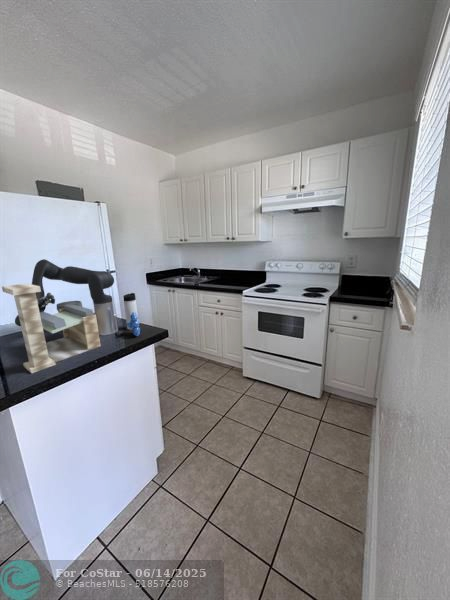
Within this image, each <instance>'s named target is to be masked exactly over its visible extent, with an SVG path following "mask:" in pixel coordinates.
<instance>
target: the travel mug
mask: <svg viewBox="0 0 450 600" xmlns="http://www.w3.org/2000/svg"><path fill="white" fill-rule="evenodd" d="M122 297H123V305H124V314H125V320H126V324H127V323H128V322H130V320H131V318H130V316H131V314H132V313H133V312H134V313H136V314H137V317H138V315H139V314H138V306H137V298H136V293H135V292H131V293H127V294H124V295H123V296H122ZM137 321H138V322H139V317H138V319H137ZM138 327H139V328H140V325H139V326H138ZM126 330H128V331H133V330H132V329H131V328H128V327H127V326H126Z"/></svg>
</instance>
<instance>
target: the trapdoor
mask: <svg viewBox="0 0 450 600" xmlns="http://www.w3.org/2000/svg"><path fill="white" fill-rule="evenodd" d="M63 306H64V309H65V311H63V312H60V313H55V314H53V315H54V316H57V317H59V318H62V319H64V320H65V323H66V326H64V327H62V328H59V329H54V328H51V327H49V326H47V325H45V324H42V327H43V330H45V331H47V332H48V333H50V334H55V333H59V332H61V331H63V330H64V329H66V328H69V327H72V326H74V325H77V324H80V323H82V322H83V319H82V317H87V316H91V315H95V313H94V311H93V309H90V308H87V307H84V306H82V307H81V306H77V305H74V304H70V303H69V304H66V305H63Z"/></svg>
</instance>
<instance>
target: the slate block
mask: <svg viewBox="0 0 450 600" xmlns="http://www.w3.org/2000/svg"><path fill="white" fill-rule="evenodd" d="M40 317H41V322H42V324H45V325H47V326H49V327H51V328H54V329H59V328H62V327H64V326H66V323H65V320H64V319H62V318H59V317H57V316H54V314H51V313H48V312H45V311H44V312H43V311H42V312H40Z"/></svg>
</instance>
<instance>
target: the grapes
mask: <svg viewBox="0 0 450 600" xmlns="http://www.w3.org/2000/svg"><path fill="white" fill-rule="evenodd" d="M137 314H138V313H137ZM137 314H136V313H134V312H133V313H132V314H131V316H130V318H131V320H130V322H128V323H127V322H126V328H127V327H128V328H131V329H132V330H131V331H132V334H133V335H134V336H135V337H139V335H140V334H141V328H140V324H141V323H140V322H139V317H137ZM137 319H138V321H137ZM138 326H139V327H138Z"/></svg>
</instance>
